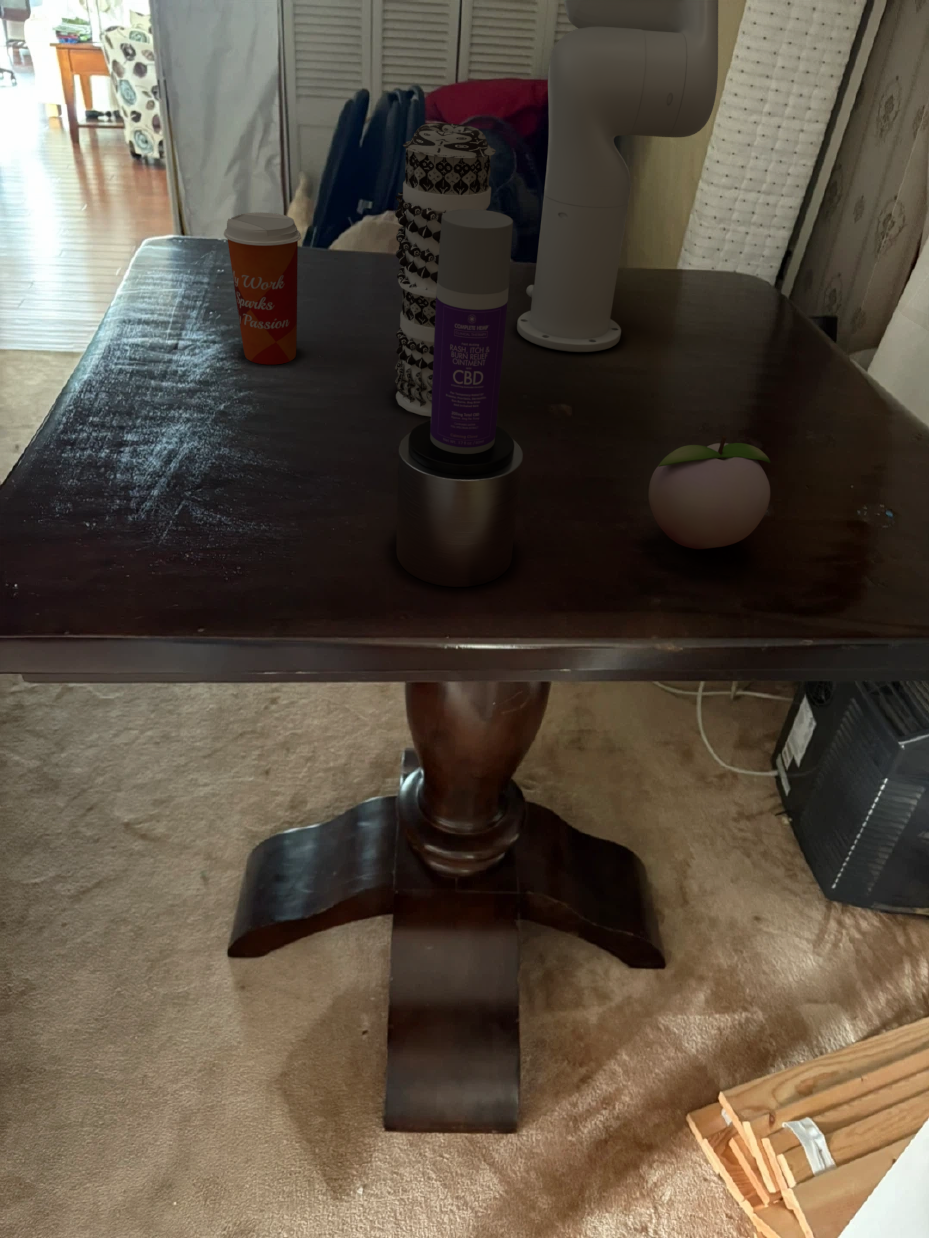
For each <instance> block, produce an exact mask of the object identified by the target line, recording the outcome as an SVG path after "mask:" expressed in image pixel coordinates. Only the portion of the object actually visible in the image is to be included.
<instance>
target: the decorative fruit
mask: <svg viewBox="0 0 929 1238" xmlns="http://www.w3.org/2000/svg"><path fill="white" fill-rule="evenodd" d="M759 461H763V462H765V463H767V464H771V460H770V458H769V457H768V455H767V454H766V453H764V451H762V450H761V449H760V448H758V447H756V446H754V445H751V444H748V443H742V442H734V443H733V442H731V443H727V435H725V434H723V435H722V436H721V438H720V442H718V443H713V444H710V445H707V446H705V445H700V444H687V445H684V446H680V447H678V448H676V449H673V451H671V452H670V453H668V454H667V455H666V456H665V457H664V458H663V459H662V460H661V461H660V463H658V465H657V466H656V468H655V469H654V471H653V473H652V475H651V477H650V481H649V484H648V504H649V508H650V512H651V514H652V516H653V518H654V520H655V522H656V524H657V526H658V527H659V529H661V531H662V532H663V533H664V534H665V535H666V536H667V537H668V538H669V539H670V540H671V541H673V542H674V543H676V544H678V545H680V546H682V547H685V548H689V549H693V550H705V549H706V550H707V549H713V548H721V547H727V546H730V545H734V544H736V543H738V542H740V541H743V540H745V539H746V538H747V537H748V536H749V535H751V534H752V533H753V532H754V531H755V529H756V528H757V527H758V525H759V524H760V523H761V521H762V520H763V518H764V516H765V514H766V512H767V510H768V507H769V504H770V500H771V486H770V481H769V479H768V476H767V474H766V472H765V471H764V468H763V467H762V465H761V464H760V462H759Z"/></svg>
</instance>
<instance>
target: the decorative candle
mask: <svg viewBox="0 0 929 1238" xmlns="http://www.w3.org/2000/svg"><path fill="white" fill-rule="evenodd" d="M402 146H403V147H404V149H405V171H404V173H405V174H404V181H403V183H402V191H401V192H400V191H398V192H397V195H395V197H394V198H395V200H396V201H397V202H398V206H397V207H396V209H395V211H394V217H396V218H397V223H398V224H399V225H401V226H400V227H399V228H398V229H397V234H396V236H395V239H396V241H397V242H398V245H399V246H398V250H396V252H395V257H396V258H397V259H398V264H399V265H400V267H399V269H398V273H397V274H396V279H397V283H398V285H399V286H400V288H401V289H402V302H401V303H402V304H401V311H400V312H399V313H400V317H399V318H400V319H399V328H398V331H397V332H396V333H395V336H396V338H397V339H398V346H396V349H395V352H396V354H398V358H399V359H398V360H397V362H396V364H395V367H394V370H395V372H396V374H397V377H396V379H395V381H394V384H395V385H394V386H395V387H396V388H397V392H396V394H395V399H396V401H397V405H399V406H400V407H402V408H403V409H405V410H406V411H407V412H409V413H414V414H416V415H420V416H423V417H424V416H425V417H431V404H432V381H433V357H434V334H435V310H436V292H437V278H438V264H439V249H440V235H441V220H442V215H443V214H444V213H446V212H448V211H452V210H459V209H478V210H487V209H488V208H489V206H490V204H491V196H492V187H491V186H490V176H491V171H492V168H491V167H492V166H491V159H492V156H493V155H495V153H496V152H497V150H496V149H494V148H493V147H492V146H490V144H489V142H488V140H487V138H486V136H485V134H484V132H483V131H481V130H479V129H478V128H476V127H473V126H471V125H466V124H465V125H464V124H459V123H446V122H444V123H443V122H442V123H441V122H436V123H434V122H433V123H427V124H422V125H421V126H419V128H417V130H416V131H414V133H413V135H412V137H411V138H410V140H409V141H406V142H405V143H403V144H402Z"/></svg>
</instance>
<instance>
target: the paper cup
mask: <svg viewBox="0 0 929 1238" xmlns="http://www.w3.org/2000/svg"><path fill="white" fill-rule="evenodd" d="M223 237H224V238H225V239H227V245H228V252H229V253H228V254H229V260H230V265H231V266H230V267H231V274H232V280H233V287H234V295H235V301H236V309H237V314H238V322H239V328H240V336H241V341H242V348H243V354H244V356H245V358H246V359H247V360H248V361H250V362H252V363H255V364H259V365H267V366H269V365H271V366H272V365H281V364H286V363H290V362H291V361H293V360H294V359H295V358H296V356H297V339H298V337H297V336H298V261H299V260H298V259H299V258H298V256H299V255H298V254H299V253H298V252H299V247H298V246H299V241H300V240H301V239H302V234H301V232H300V230H299V229H298V226H297V225H296V223H295V219H293V217H291V216H288V215H286V214H280V213H273V212H261V211H260V212H259V211H258V212H257V211H256V212H255V211H254V212H244V213H240V214H238V215H235V216H233V217H232V216H231V218H228V219H227V220H226V228H225V229H224V231H223Z"/></svg>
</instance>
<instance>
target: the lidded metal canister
mask: <svg viewBox="0 0 929 1238" xmlns="http://www.w3.org/2000/svg"><path fill="white" fill-rule="evenodd" d="M430 428H431V419H430V420H427V421H424V422H422V423H420V424H419V425H417V426H415V427H414V428H413V429H412V430H411V431H410V432H409V433H408V434H406V435H405V436H403V438H402V439H401V440H400V442H399V444H398V456H397V457H398V460H397V461H398V462H397V500H396V501H397V503H396V504H397V506H396V507H397V508H396V547H395V548H396V551H395V552H396V558H397V561H398V562H399V564H400V566H401V567H402V568H403V570H405V571H406V572H407V573H408V574H410V575H411V576H413V577H415V578H417V579H418V580H421V581H423V582H425V583H428V584H429V583H430V584H432V585H437V586H441V587H447V588H450V587H451V588H469V587H476V586H480V585H484V584H488V583H490V582H492V581H495V580H497V579H498V578H499V577H501V576H502V575H504V574H505V573H506V572H507V570H508V569H509V568H510V565H511V563H512V560H513V559H512V558H513V549H514V541H515V533H516V522H517V515H518V514H517V513H518V505H519V495H520V488H521V478H522V469H523V461H524V452H523V450H522V448H521V446H520V445H519V444H518V442H517V441H515V439H513V437H512V436H511V434H510V433H509V432H508V431H506V429H504V428H502V427H500V426H498V425H496V435H495V443H494V445H493V446H492V447H491V448H490V449H488V450H486V451H484V452H480V453H475V454H458V453H452V452H448V451H445V450H442V449H440V448H438V447H437V446H435V445H434V444H433V443H432V441H431V439H430Z"/></svg>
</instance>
